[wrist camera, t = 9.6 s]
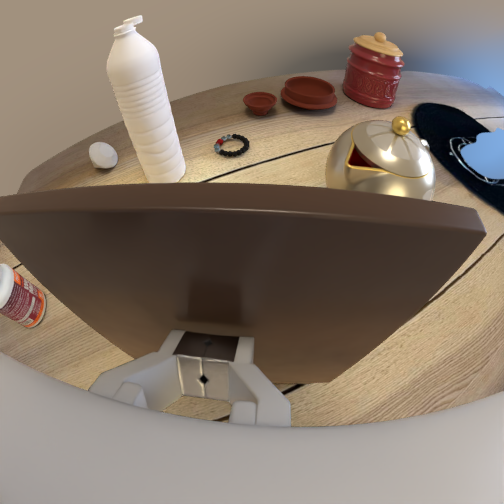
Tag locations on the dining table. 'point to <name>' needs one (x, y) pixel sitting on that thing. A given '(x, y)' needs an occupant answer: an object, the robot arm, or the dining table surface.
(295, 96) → the pottery
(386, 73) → the kitchen canister
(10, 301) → the pill bottle
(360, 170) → the teapot
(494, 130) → the dining table surface
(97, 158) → the gemstone
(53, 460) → the robot arm
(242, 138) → the bracelet
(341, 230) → the lid
